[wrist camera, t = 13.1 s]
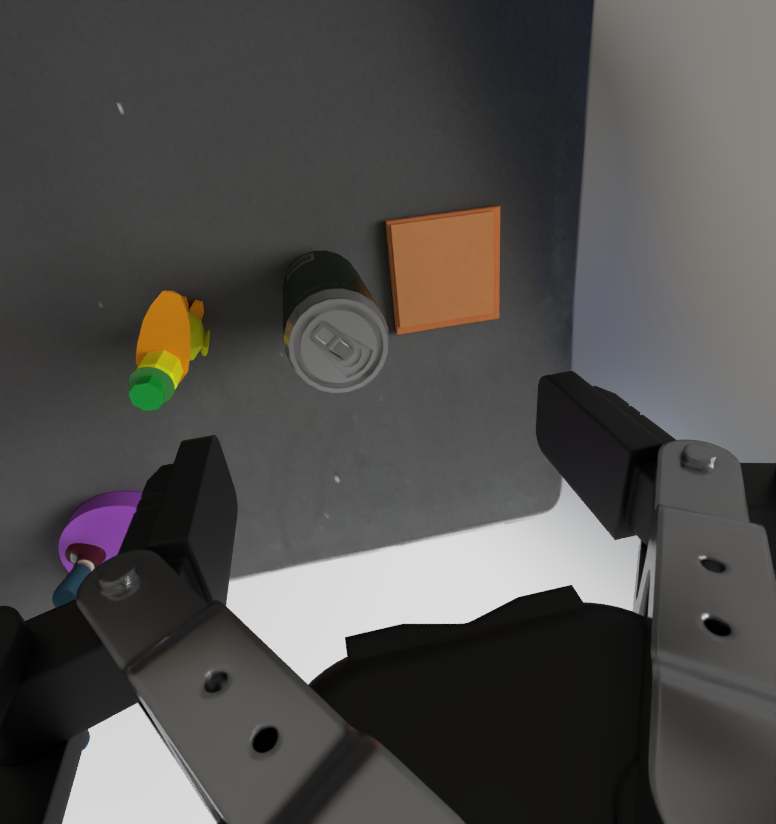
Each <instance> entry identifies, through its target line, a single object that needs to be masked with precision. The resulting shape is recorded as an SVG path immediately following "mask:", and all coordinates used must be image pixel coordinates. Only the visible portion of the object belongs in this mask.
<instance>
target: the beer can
mask: <svg viewBox="0 0 776 824" xmlns="http://www.w3.org/2000/svg"><path fill="white" fill-rule="evenodd" d="M283 334H284V345H285V353H286V355H287V357H288V359H289V361H290V363H291V366H292V367H293V368H294V369H295V370H296V372H297V374H298V375H299V376H300V377H301V378H302V379H303V380H304V381H305V382H306V383H308V384H309V385H311V386H313V387H315V388H317V389H319V390H322V391H327V392H332V393H340V392H350V391H352V390H355V389H357V388H360V387H363V386H364V385H366V384H367V383H368V382H369V381H371V380H372V379H373V378H375V376H376V375H377V374H378V372H379V371H380V369H381V368H382V367H383V365H384V362H385V359H386V356H387V353H388V345H389V340H388V327H387V324H386V321H385V318H384V316H383V314H382V312H381V310H380V309H379V307H378V305H377V304H376V302H375V300H374V299H373V297H372V296H371V294H370V292H369V291H368V289H367V287H366V286H365V284H364V283H363V281H362V279H361V278H360V276H359V274H358V273H357V271H356V270H355V269H354V267H353V266H352V265H351V263H350V262H349V261H348V260H346V259H345V258H343V257H342V256H340V255H339V254H336V253H332V252H329V251H313V252H310V253H308V254H305V255H303V256H301V257H300V258H298V259H297V260H296V261H295V262H294V263H293V264H292V265H291V266H290V268H289V270H288V271H287V273H286V275H285V279H284V284H283Z"/></svg>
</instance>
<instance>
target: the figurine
mask: <svg viewBox="0 0 776 824" xmlns="http://www.w3.org/2000/svg"><path fill="white" fill-rule="evenodd" d="M141 495H142V493H140V492H130V491H120V492H111V493H107V494H102V495H99V496H97V497H94V498H92V499H90V500H88V501H87V502H85V503H84V504H82V505H81V506H80V507H79V508H78V509H77V510H76V511H75V512H74V513H73V515H72V517H71V519H70V520H69V522H68V524H67V526H66V527H65V529H64V531H63V533H62V535H61V537H60V541H59V556H60V558H61V561H62V564H63V565H64V566H65V568H66V569H67V571H68V572H69V574H68V575H67V576H66V578H65V579H64V580H63V581H62V583H61V584H60V585H59V586H58V587H57V589H56V590H55V591H54V594H53V599H52V600H53V604H54V606H55V608H57V607H59V606H61V605H64V604H66V603H68V602H70V601H72V600H74V599H76V593H77V590H78V588H79V586H80V584H81V583H82V581H83V580H84V579H85V577H86V576H87V575H88V574H89V573H90V572H91V571H92V570H93V569H95V568H96V567H97V566H98V565H100V564H101V563H103V562H104V561H106V560H108V559H110V558H112V557H114V556H116V555H117V554H118V552H119V549H120V547H121V544H122V542H123V539H124V537H125V535H126V532H127V530H128V527H129V525H130V522H131V520H132V517H133V515H134V513H135V512H136V507H137V505H138V502H139V500H140V499H141ZM89 738H90V736H89V732H88V730H87V734H86V738H85V741H84V745H83V749H85V747H86V746H87V744H88V742H89ZM83 749H82V750H83Z"/></svg>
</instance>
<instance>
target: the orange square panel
mask: <svg viewBox="0 0 776 824" xmlns="http://www.w3.org/2000/svg"><path fill="white" fill-rule="evenodd" d="M385 226H386V237H387V247H388V257H389V268H390V278H391V288H392V299H393V309H394V319H395V330H396V333H397V335H399V334H405V333H411V332H417V331H424V330H430V329H436V328H442V327H448V326H454V325H460V324H467V323H473V322H479V321H485V320H491V319H497V318H499V276H500V206H490V207H483V208H475V209H468V210H460V211H453V212H445V213H438V214H431V215H423V216H416V217H408V218H401V219H393V220H386V221H385Z"/></svg>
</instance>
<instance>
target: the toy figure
mask: <svg viewBox="0 0 776 824" xmlns="http://www.w3.org/2000/svg"><path fill="white" fill-rule="evenodd" d="M188 311H189V312H188ZM203 315H204V305H203V301H199V300H195V301H194V303H193V304H192V306H191V308H190V310H189V304H188V300H187V297H185V296H181V295H180V294H178V293H176V292H175V291H163V292H162V293H161V294H160V295H159V296H158V298H157V299H156V300H155V301H154V302H153V304H152V305H151V306H150V308H149V310H148V312H147V314H146V316H145V317H144V319H143V323H142V327H141V331H140V335H139V339H138V343H137V352H136V361H135V362H136V364H137V366H138V367H137V369H136V370H135V371H134V372H133V373H132V374H131V376H130V377H129V381H128V385H129V389H130V392H129V396H130V399H131V401H132V403H133V405H135V406H137V407H139V408H141V409H143V410H145V411H148V410H155V409H159V408H160V406H161V405H162V403H165V402H166V401H168V400H169V399H170V398H171V397H172V396H173V394H174V391H175V389H176V387H177V385H178V384H179V382H180V381H181V380H182V379H183V377H184V376H185V375H186V374H187V372H188V367H189V361H190V360H194V358H195V357H196V355H197V354H198V352H199V351H200V349H201V353H202V355H203V356H206V355H207V353H208V349H209V340H210V329H209V330H208V331H207V333H206V335H205V331H204V327H203V324H202V318H203Z"/></svg>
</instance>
